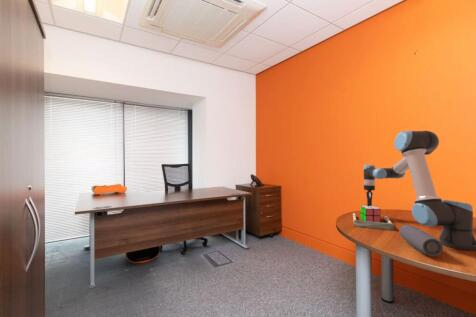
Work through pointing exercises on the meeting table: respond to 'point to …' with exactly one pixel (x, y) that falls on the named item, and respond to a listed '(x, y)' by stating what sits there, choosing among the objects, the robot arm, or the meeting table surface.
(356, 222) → the wooden serving tray
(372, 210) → the puzzle cube
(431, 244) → the bluetooth speaker
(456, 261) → the meeting table surface
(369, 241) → the meeting table surface
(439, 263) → the meeting table surface
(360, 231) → the meeting table surface
